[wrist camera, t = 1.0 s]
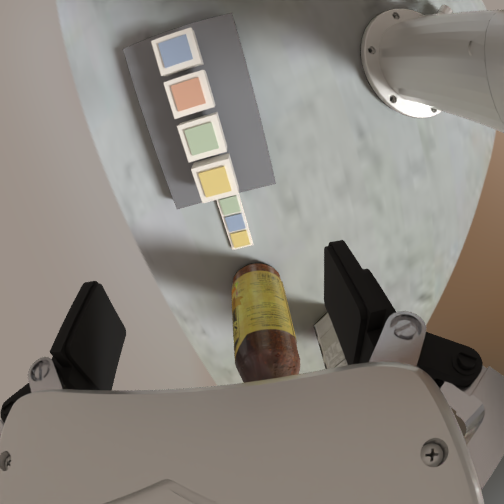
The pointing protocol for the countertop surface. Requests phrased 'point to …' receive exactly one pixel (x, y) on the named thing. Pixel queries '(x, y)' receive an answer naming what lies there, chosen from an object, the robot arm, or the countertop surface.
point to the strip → (235, 221)
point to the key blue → (177, 52)
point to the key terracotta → (189, 94)
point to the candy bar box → (329, 343)
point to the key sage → (202, 137)
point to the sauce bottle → (262, 325)
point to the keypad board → (226, 104)
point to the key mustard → (215, 178)
